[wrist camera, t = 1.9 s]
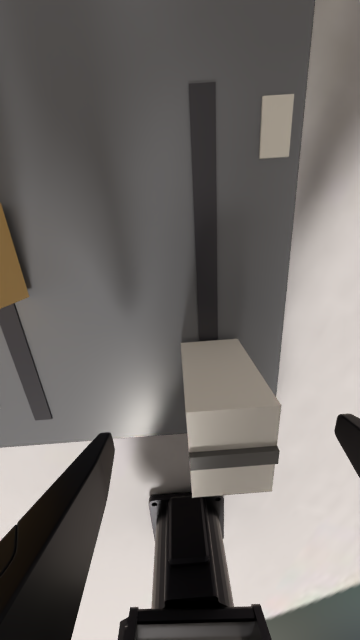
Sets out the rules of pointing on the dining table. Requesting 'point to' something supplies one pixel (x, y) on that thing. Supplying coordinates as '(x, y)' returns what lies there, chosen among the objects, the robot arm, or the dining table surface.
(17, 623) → the robot arm
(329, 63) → the dining table surface
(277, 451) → the fader
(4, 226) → the block
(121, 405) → the console
